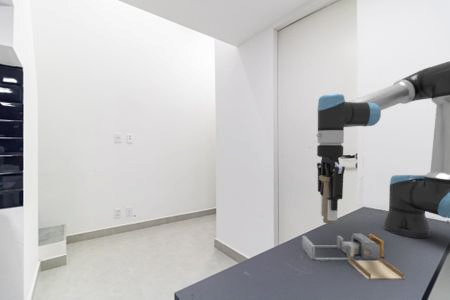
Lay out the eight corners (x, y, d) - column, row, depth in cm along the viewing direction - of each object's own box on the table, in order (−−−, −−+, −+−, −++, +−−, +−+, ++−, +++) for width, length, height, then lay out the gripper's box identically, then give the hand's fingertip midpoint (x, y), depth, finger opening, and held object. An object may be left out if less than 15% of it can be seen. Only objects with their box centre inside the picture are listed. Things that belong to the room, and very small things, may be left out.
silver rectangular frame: (338, 246, 80) (339, 235, 80) (354, 260, 71) (355, 247, 71) (301, 246, 80) (301, 235, 80) (312, 260, 71) (312, 247, 71)
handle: (342, 223, 74) (343, 176, 74) (327, 226, 72) (328, 177, 71) (329, 219, 79) (330, 174, 78) (315, 221, 76) (316, 175, 76)
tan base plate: (380, 261, 71) (381, 256, 71) (404, 279, 62) (405, 273, 62) (348, 261, 70) (348, 256, 70) (367, 279, 61) (367, 273, 61)
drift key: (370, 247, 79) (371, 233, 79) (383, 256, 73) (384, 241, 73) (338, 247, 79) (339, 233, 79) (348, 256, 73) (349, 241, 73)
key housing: (364, 248, 80) (365, 233, 80) (379, 258, 73) (380, 242, 72) (350, 248, 80) (351, 233, 79) (363, 258, 72) (364, 242, 72)
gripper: (307, 144, 83) (306, 209, 84) (331, 144, 66) (330, 227, 67) (328, 144, 83) (327, 209, 84) (357, 144, 66) (356, 227, 67)
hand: (328, 217), depth 75 cm, fingers closed on handle, 4 cm apart
